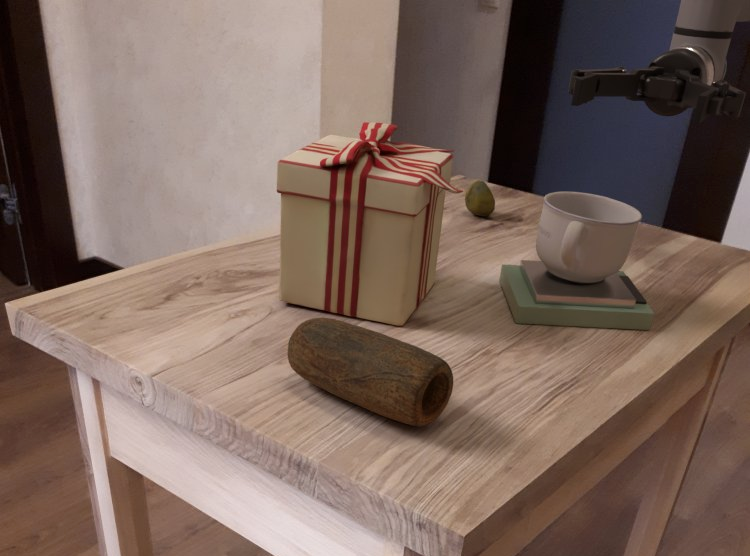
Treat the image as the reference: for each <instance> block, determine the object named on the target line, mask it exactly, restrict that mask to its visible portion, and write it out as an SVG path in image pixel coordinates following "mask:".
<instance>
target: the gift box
mask: <svg viewBox="0 0 750 556" xmlns="http://www.w3.org/2000/svg"><path fill="white" fill-rule="evenodd" d="M398 129H399V126H398V125H396V124H392V123H391V124H390V123H384V122H366V121H365V122H363V123H362V125H361V127H360V131H359V133H358V135H359V138H356V137H349V136H342V135H337V134H327V135H325V136H324V137H321V138H320V139H318V140H316V141H313V142H312V143H309V144H308V145H306V146H304V147H302V148H300V149H298V150H296V151H294V152H292V153H291V154H289V155H287V156H285V157H282V158H281V159H279V160H278V161H277V162H276V163H277V164H276V193H277V194H280V223H279V225H280V233H279V235H280V236H279V237H280V238H279V241H280V243H279V244H280V245H279V246H280V247H279V301H281V302H283V303H287V304H292V305H297V306H301V307H306V308H311V309H315V310H320V311H325V312H329V313H334V314H338V315H339V314H340V315H342V316H343V315H344V316H349V317H354V318H359V319H363V320H368V321H373V322H379V323H384V324H387V325H388V324H389V325H393V326H398V327H402V326H404V325H405V324H406V323H407V321H408V320H409V319H410V317H411V316H412V314H413V313H414V312H415V311H416V309H417V308H419V306H420V303H421V302H422V301H423V300H424V299H425V297H426V296H427V295H428V293H429V292H430V290H432V288H433V286H434V285H435V279H436V272H437V264H438V256H439V247H440V240H441V233H442V225H443V217H444V216H443V215H444V208H445V199H446V192H449V193H452V194H455V195H456V194H462V193H463V192H464V190H463V189H458V188H455V187H454V186H452V185H451V181H452V180H451V179H452V172H453V171H452V170H453V164H454V154H452V152H455V149H441V148H435V147H429V146H424V145H420V144H415V143H409V142H393V141H390V140H389V139H390V138H391V137H392V136H393V134H394V132H395V131H397V130H398Z"/></svg>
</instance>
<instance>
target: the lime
mask: <svg viewBox="0 0 750 556" xmlns="http://www.w3.org/2000/svg"><path fill="white" fill-rule="evenodd" d="M464 202H465V207H466V209H467V210H468V211H469V213H471V214H473V215H476V216H480V217H488V216H490V215H492V214H493V213H494V211H495V210H496V209H495V208H496V200H495V197H494V195H493V192H492V190H491V189H490V187H489V186H488V184H487V183H486V182H485V181H484V180H479V179H478V180H475V181H474V182H472V183H471V184H470V186H468V188H467V190H466V192H465V195H464Z"/></svg>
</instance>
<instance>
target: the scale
mask: <svg viewBox="0 0 750 556" xmlns="http://www.w3.org/2000/svg"><path fill="white" fill-rule="evenodd" d="M617 274H618V275H619V277H620V278H621V280H622V281H623V282H624V284H625V285H626V287H627V288H628V289H629V291H630V292H631V294H632V295H633V296H634V298H635V299H636V303H635V307H634V309H633V308H614V307H595V306H577V305H558V304H540V303H535V301H534V299H533V297H532V294H531V292H530V290H529V288H528V285H527V283H526V281H525V279H524V277H523V274H522V272H521V270H520V264H519V265H517V264H501V268H500V274H499V283H500V285H501V288H502V291H503V293H504V296H505V299H506V301H507V304H508V307H509V309H510V312H511V314H512V317H513V320H514V322H515V324H522V325H523V324H525V325H543V326H561V327H563V326H564V327H578V328H579V327H580V328H582V327H583V328H600V329H619V330H620V329H621V330H636V331H650V330H651V327H652V324H653V320H654V317H655V312H654V310H653V309H652V308H651V306H650V305H649V304H648V301H647V300H646V298H645V297H644V295H642V293H641V291H640V289H638V287H637V286H636V285H635V284H634V282H633V281H632V280H631V278H630V276H629V275H627V274H626V273H625V272H624V270H619V271H618V272H617Z"/></svg>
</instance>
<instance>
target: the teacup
mask: <svg viewBox="0 0 750 556" xmlns="http://www.w3.org/2000/svg"><path fill="white" fill-rule="evenodd" d="M543 197H544V198H543V206H542V208H541V209H542V210H541V215H540V219H539V223H538V228H537V234H536V240H535V250H536V254H537V256H538V258H539V261H542V262H543V263H544V264H545V267H546V268H547V270H548V271H549V272H550V273H552V274H553V275H555V276H558V277H560V278H563V279H566V280H569V281H574V282H579V283H596V282H599V281H602V280H604V279H605V278H606V277H609V276H611V275H613V274H615V273H617V272H618V271H621V269H622V268H623V266H624V265H625V263H626V261H627V259H628V256H629V254H630V251H631V248H632V246H633V242H634V240H635V237H636V234H637V230H638V227H639V224H640V222H641V221H642V218H643V215H642V213H641V212H640V210H638V209H637V208H635V207H634V206H631V205H629V204H627V203H625V202H623V201H619V200H616V199H614V198H610V197H608V196H604V195H600V194H593V193H588V192H579V191H554V192H549V193H548V194H545V196H543Z"/></svg>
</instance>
